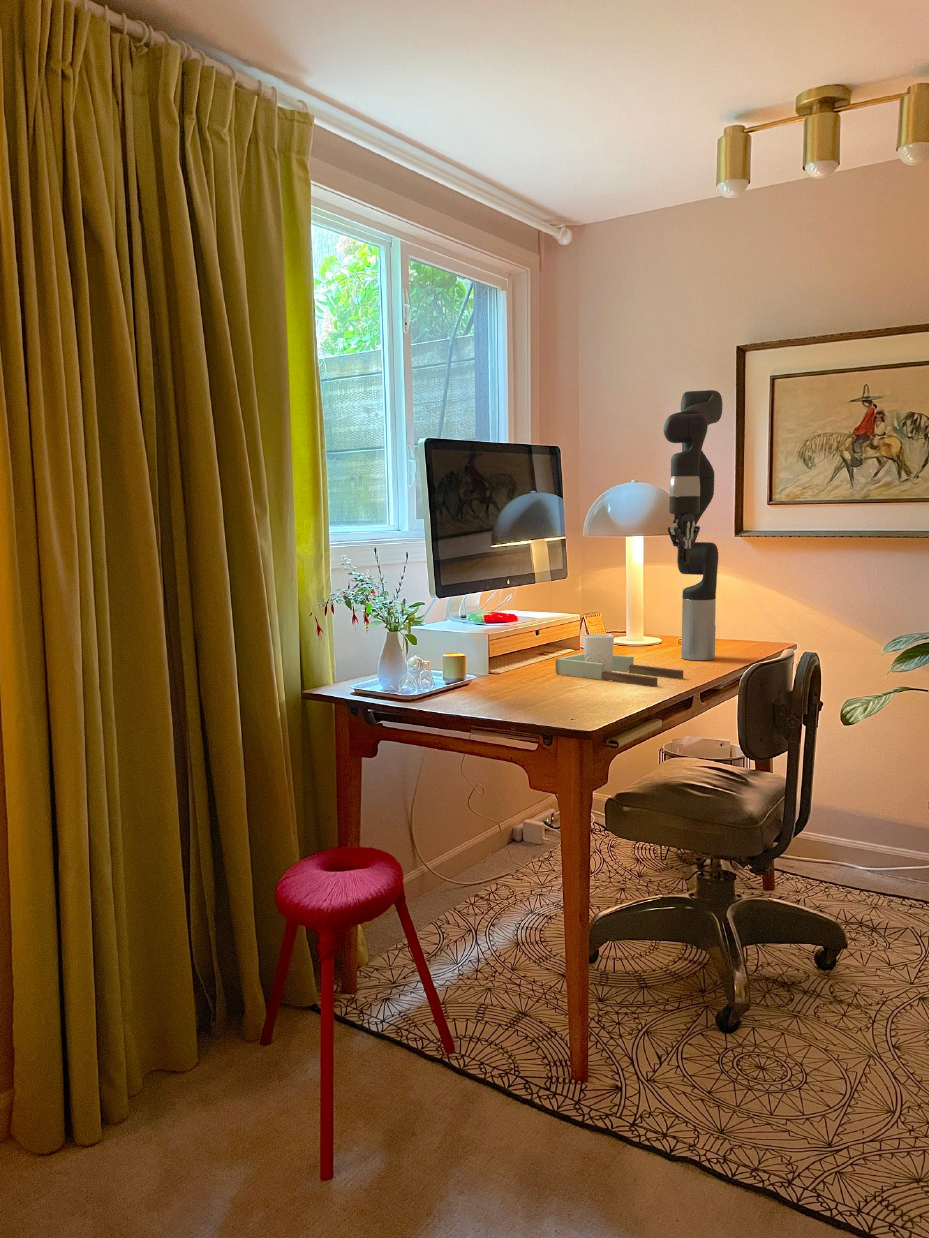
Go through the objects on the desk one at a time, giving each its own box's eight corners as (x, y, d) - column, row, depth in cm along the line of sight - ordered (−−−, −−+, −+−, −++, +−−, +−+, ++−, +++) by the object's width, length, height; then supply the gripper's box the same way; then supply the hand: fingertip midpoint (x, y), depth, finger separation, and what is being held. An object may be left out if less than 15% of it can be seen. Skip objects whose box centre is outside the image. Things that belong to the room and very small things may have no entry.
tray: (588, 666, 259) (588, 651, 258) (633, 671, 249) (633, 656, 249) (555, 673, 247) (555, 658, 247) (601, 679, 238) (601, 664, 237)
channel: (632, 671, 249) (632, 664, 249) (683, 678, 239) (683, 670, 239) (601, 679, 238) (601, 671, 238) (654, 686, 228) (654, 678, 228)
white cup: (577, 673, 248) (577, 635, 247) (599, 670, 253) (600, 633, 252) (597, 677, 242) (597, 638, 241) (619, 674, 246) (620, 636, 245)
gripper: (684, 495, 245) (682, 561, 247) (658, 495, 235) (657, 564, 237) (710, 494, 240) (709, 562, 242) (685, 494, 230) (684, 565, 232)
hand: (683, 563), depth 239 cm, fingers closed
